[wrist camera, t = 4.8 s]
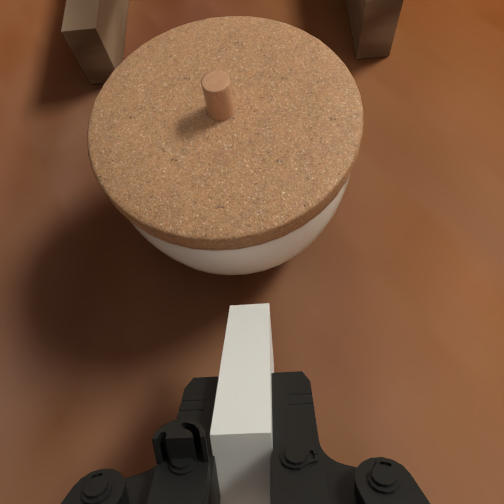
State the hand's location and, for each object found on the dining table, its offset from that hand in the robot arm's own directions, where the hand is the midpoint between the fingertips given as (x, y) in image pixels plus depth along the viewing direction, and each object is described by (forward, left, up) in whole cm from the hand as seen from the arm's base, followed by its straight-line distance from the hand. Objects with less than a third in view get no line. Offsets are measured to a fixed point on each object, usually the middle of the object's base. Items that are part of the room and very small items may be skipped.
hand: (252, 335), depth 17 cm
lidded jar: (-1, +8, -4) cm, 9 cm away
